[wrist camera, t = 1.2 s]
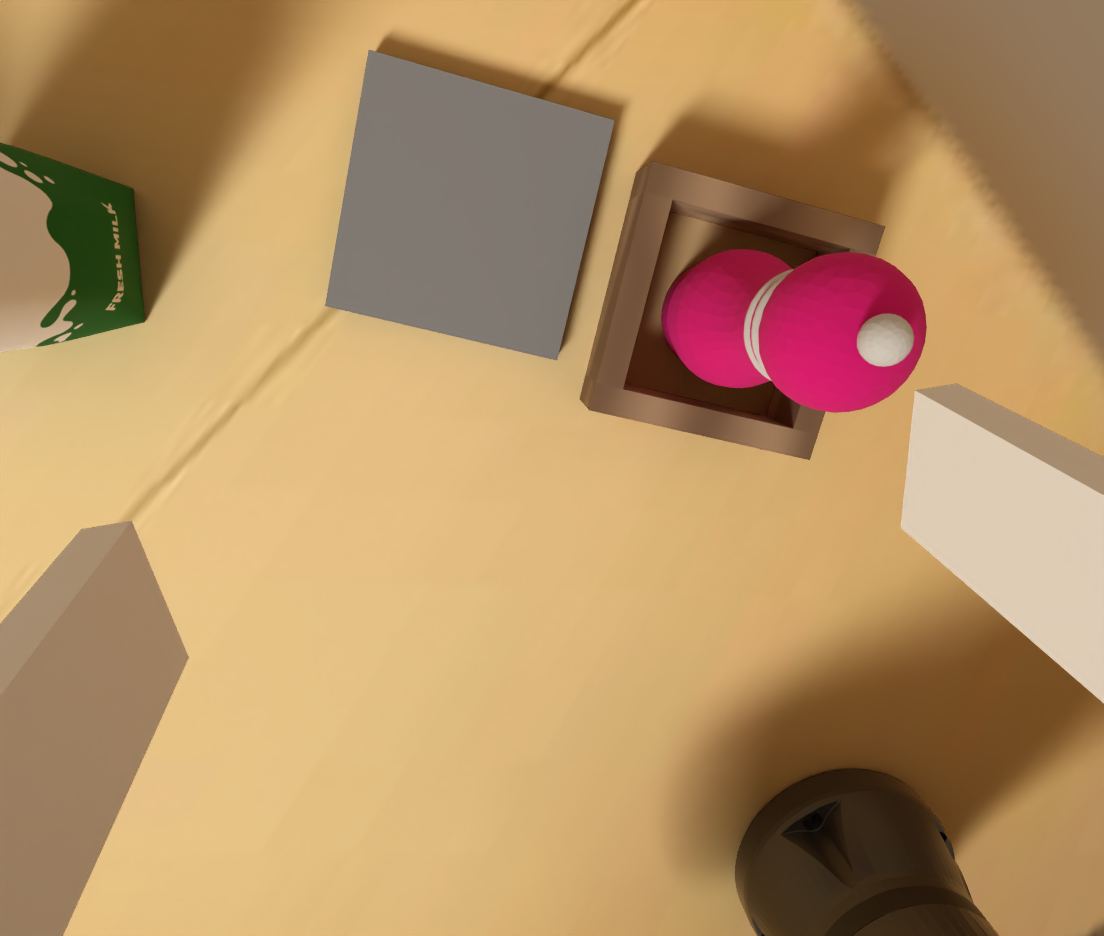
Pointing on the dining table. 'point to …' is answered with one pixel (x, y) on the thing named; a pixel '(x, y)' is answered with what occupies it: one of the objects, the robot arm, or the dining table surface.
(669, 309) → the pepper mill
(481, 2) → the dining table surface
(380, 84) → the coaster
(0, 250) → the milk carton
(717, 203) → the brown wooden square tray
